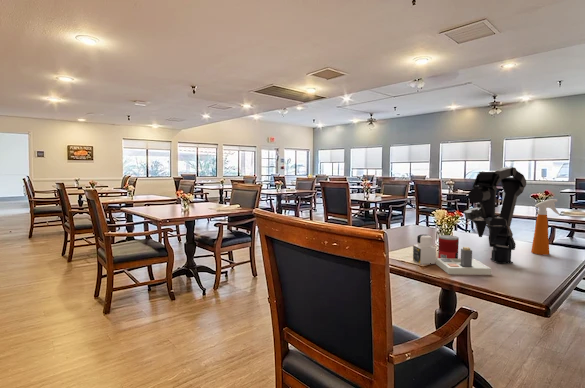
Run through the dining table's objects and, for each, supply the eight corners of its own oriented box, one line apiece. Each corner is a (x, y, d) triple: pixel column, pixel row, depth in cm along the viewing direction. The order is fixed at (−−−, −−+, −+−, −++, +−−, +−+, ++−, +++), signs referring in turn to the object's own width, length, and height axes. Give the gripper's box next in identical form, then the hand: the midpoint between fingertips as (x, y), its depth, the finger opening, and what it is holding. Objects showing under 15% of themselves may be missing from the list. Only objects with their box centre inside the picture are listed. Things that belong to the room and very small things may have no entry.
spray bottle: (561, 256, 157) (564, 199, 154) (534, 254, 160) (537, 199, 158) (555, 252, 163) (558, 198, 161) (529, 250, 167) (531, 197, 165)
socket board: (474, 264, 144) (474, 258, 144) (491, 274, 131) (491, 267, 130) (435, 263, 145) (436, 257, 145) (448, 274, 132) (448, 267, 131)
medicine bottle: (412, 260, 152) (413, 233, 151) (427, 259, 153) (428, 233, 152) (420, 264, 145) (420, 237, 144) (435, 264, 145) (436, 236, 144)
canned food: (460, 263, 145) (460, 238, 145) (440, 262, 147) (441, 238, 146) (455, 259, 153) (456, 235, 152) (436, 258, 155) (437, 234, 154)
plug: (468, 270, 136) (468, 246, 135) (471, 273, 133) (472, 248, 132) (460, 270, 136) (461, 246, 135) (463, 272, 133) (464, 248, 132)
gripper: (457, 199, 147) (456, 234, 148) (478, 204, 128) (476, 244, 130) (483, 199, 146) (482, 234, 147) (508, 204, 128) (506, 244, 129)
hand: (485, 239), depth 138 cm, fingers open, 9 cm apart
